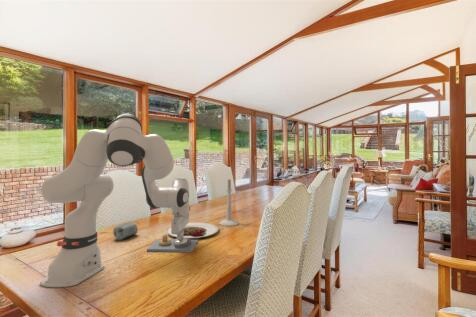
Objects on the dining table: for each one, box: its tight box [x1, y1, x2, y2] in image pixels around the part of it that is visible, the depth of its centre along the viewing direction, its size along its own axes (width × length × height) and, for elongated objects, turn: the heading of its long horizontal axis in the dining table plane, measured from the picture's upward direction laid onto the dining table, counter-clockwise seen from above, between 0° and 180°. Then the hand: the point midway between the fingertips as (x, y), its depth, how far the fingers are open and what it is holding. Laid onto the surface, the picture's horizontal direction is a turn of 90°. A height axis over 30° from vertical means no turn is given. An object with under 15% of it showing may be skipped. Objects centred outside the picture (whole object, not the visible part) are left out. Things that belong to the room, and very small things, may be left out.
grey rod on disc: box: [219, 178, 240, 227], centre depth 174 cm, size 13×13×30 cm
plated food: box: [167, 222, 219, 240], centre depth 157 cm, size 30×30×3 cm
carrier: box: [146, 233, 199, 253], centre depth 133 cm, size 14×22×6 cm, turn 88°
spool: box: [112, 221, 138, 241], centre depth 147 cm, size 14×10×10 cm
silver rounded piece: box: [173, 231, 188, 245], centre depth 133 cm, size 7×7×6 cm
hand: (180, 237), depth 133 cm, fingers closed on silver rounded piece, 3 cm apart
